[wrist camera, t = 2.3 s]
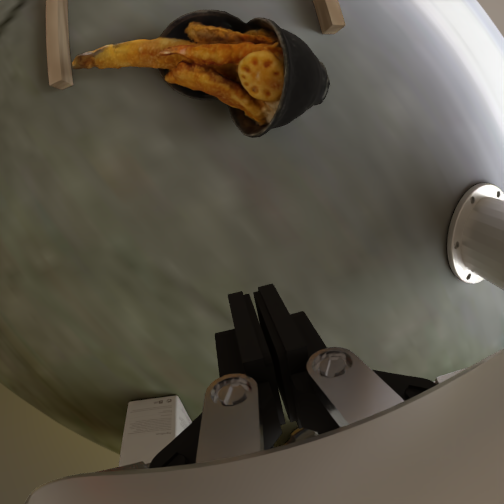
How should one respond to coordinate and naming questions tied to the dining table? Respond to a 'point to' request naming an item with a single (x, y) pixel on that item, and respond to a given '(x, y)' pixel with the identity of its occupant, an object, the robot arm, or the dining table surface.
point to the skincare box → (151, 428)
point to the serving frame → (60, 48)
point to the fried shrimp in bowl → (228, 66)
